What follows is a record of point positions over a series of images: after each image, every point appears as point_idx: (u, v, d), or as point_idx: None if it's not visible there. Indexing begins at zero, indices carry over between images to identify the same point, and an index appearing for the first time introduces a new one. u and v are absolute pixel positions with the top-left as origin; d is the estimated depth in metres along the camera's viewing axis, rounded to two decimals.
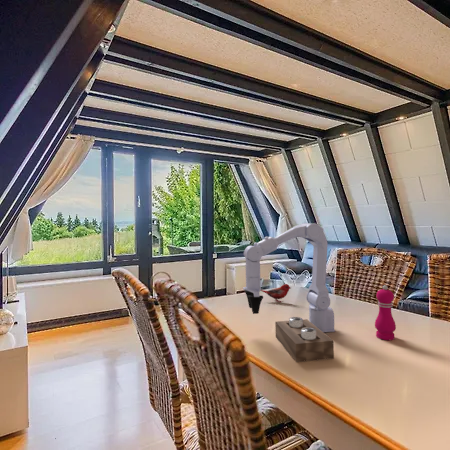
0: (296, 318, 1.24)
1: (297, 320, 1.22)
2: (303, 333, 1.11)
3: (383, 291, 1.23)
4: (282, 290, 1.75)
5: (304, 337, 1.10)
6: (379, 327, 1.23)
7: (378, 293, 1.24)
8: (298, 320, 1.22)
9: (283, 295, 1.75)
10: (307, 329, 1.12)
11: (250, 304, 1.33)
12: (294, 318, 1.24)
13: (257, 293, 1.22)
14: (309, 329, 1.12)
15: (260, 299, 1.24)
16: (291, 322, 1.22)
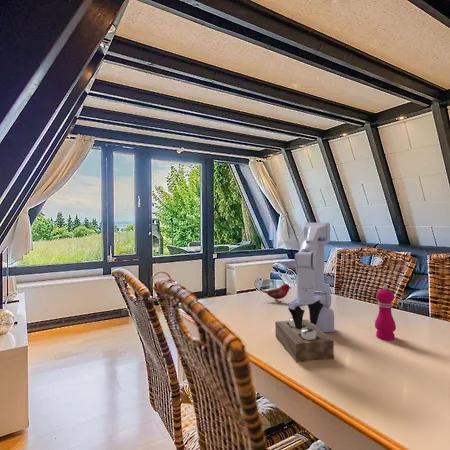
0: None
1: None
2: (303, 333, 1.11)
3: (383, 291, 1.23)
4: (282, 290, 1.75)
5: (304, 337, 1.10)
6: (379, 327, 1.23)
7: (378, 293, 1.24)
8: None
9: (283, 295, 1.75)
10: (307, 329, 1.12)
11: (311, 319, 1.15)
12: None
13: (291, 305, 1.08)
14: (309, 329, 1.12)
15: (297, 313, 1.08)
16: (291, 322, 1.22)
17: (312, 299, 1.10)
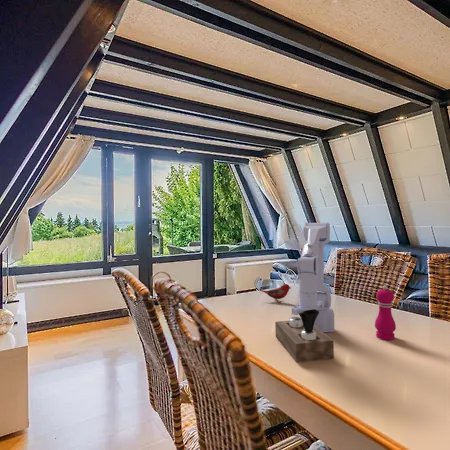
0: (296, 318, 1.24)
1: (297, 320, 1.22)
2: (303, 335, 1.11)
3: (383, 291, 1.23)
4: (282, 290, 1.75)
5: (304, 339, 1.10)
6: (379, 327, 1.23)
7: (378, 293, 1.24)
8: (298, 320, 1.22)
9: (283, 295, 1.75)
10: None
11: None
12: (294, 318, 1.24)
13: (294, 310, 1.07)
14: None
15: (307, 317, 1.09)
16: (291, 322, 1.22)
17: (315, 304, 1.09)
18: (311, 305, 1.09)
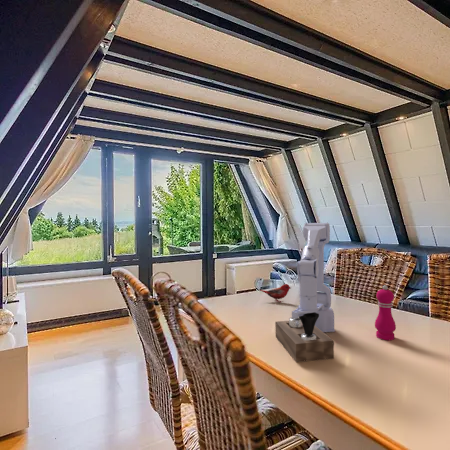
0: (296, 318, 1.24)
1: (297, 320, 1.22)
2: (303, 339, 1.11)
3: (383, 291, 1.23)
4: (282, 290, 1.75)
5: None
6: (379, 327, 1.23)
7: (378, 293, 1.24)
8: (298, 320, 1.22)
9: (283, 295, 1.75)
10: None
11: None
12: (294, 318, 1.24)
13: (294, 314, 1.07)
14: None
15: (308, 320, 1.09)
16: (291, 322, 1.22)
17: (315, 307, 1.09)
18: (311, 308, 1.09)
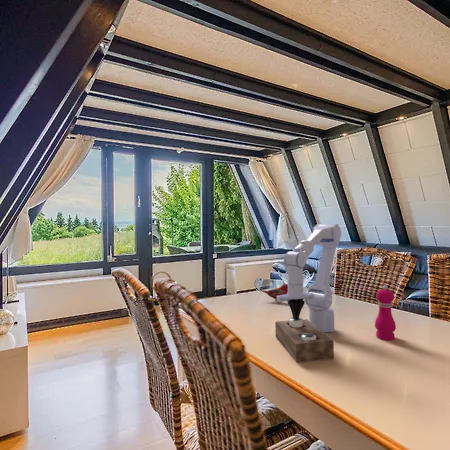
0: None
1: (297, 320, 1.22)
2: (303, 339, 1.11)
3: (383, 291, 1.23)
4: (282, 290, 1.75)
5: None
6: (379, 327, 1.23)
7: (378, 293, 1.24)
8: (298, 320, 1.22)
9: None
10: (307, 334, 1.12)
11: None
12: None
13: (277, 298, 1.22)
14: (309, 334, 1.12)
15: (292, 305, 1.21)
16: (291, 322, 1.22)
17: (299, 295, 1.21)
18: (294, 295, 1.21)
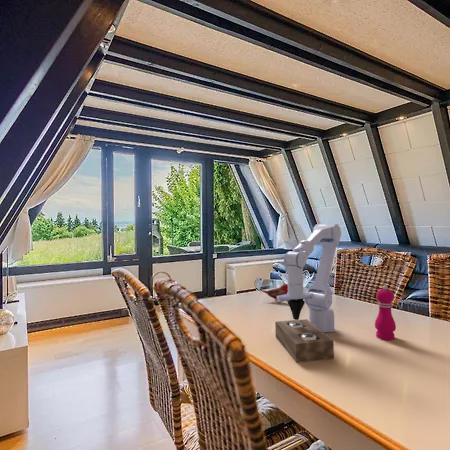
0: (296, 323, 1.24)
1: (297, 325, 1.22)
2: (303, 339, 1.11)
3: (383, 291, 1.23)
4: (282, 290, 1.75)
5: None
6: (379, 327, 1.23)
7: (378, 293, 1.24)
8: (298, 325, 1.22)
9: None
10: (307, 334, 1.12)
11: None
12: (294, 323, 1.24)
13: (277, 298, 1.22)
14: (309, 334, 1.12)
15: (292, 305, 1.21)
16: (291, 327, 1.22)
17: (299, 295, 1.21)
18: (294, 295, 1.21)
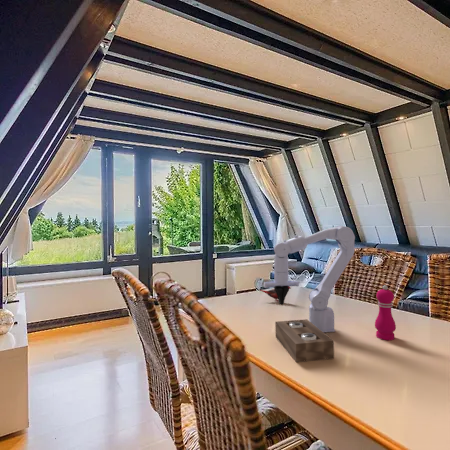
0: (296, 323, 1.24)
1: (297, 325, 1.22)
2: (303, 339, 1.11)
3: (383, 291, 1.23)
4: None
5: None
6: (379, 327, 1.23)
7: (378, 293, 1.24)
8: (298, 325, 1.22)
9: None
10: (307, 334, 1.12)
11: None
12: (294, 323, 1.24)
13: (264, 284, 1.35)
14: (309, 334, 1.12)
15: (277, 291, 1.34)
16: (291, 327, 1.22)
17: (283, 282, 1.33)
18: (279, 282, 1.33)
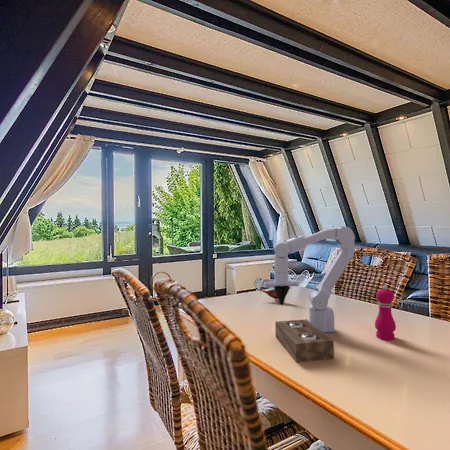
0: (296, 323, 1.24)
1: (297, 325, 1.22)
2: (303, 339, 1.11)
3: (383, 291, 1.23)
4: None
5: None
6: (379, 327, 1.23)
7: (378, 293, 1.24)
8: (298, 325, 1.22)
9: None
10: (307, 334, 1.12)
11: None
12: (294, 323, 1.24)
13: (264, 284, 1.35)
14: (309, 334, 1.12)
15: (277, 291, 1.34)
16: (291, 327, 1.22)
17: (283, 282, 1.33)
18: (279, 282, 1.33)
